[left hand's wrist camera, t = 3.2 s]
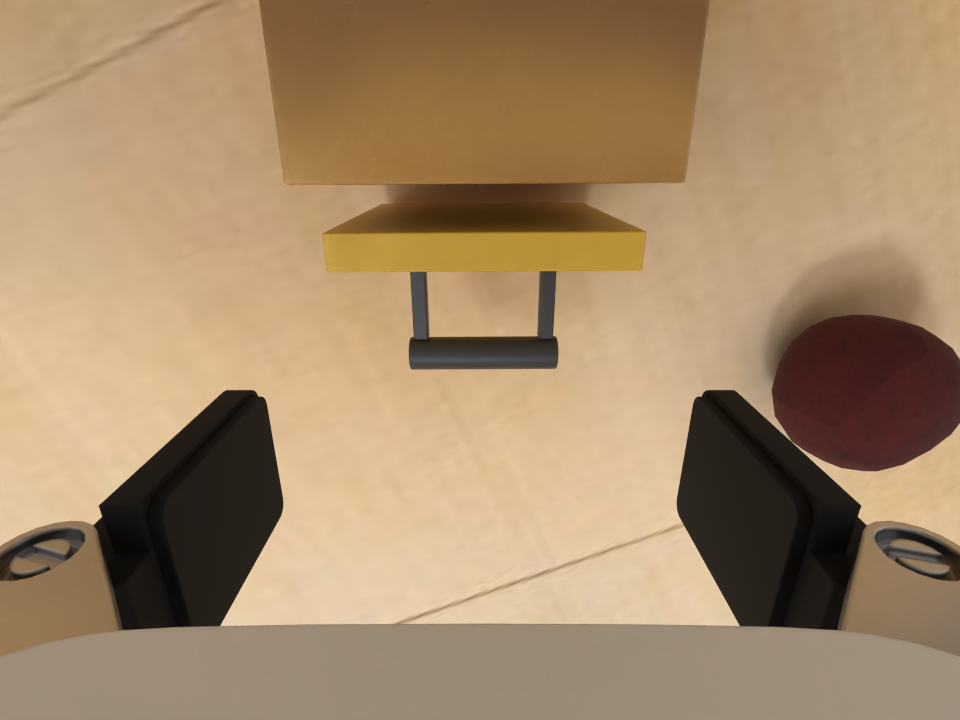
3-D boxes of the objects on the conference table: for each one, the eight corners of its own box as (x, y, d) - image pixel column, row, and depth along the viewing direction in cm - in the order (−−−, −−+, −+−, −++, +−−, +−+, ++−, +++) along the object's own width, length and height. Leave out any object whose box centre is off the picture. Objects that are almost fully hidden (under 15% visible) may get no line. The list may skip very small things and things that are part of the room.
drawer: (575, 330, 27) (625, 420, 18) (389, 331, 27) (343, 421, 18) (622, -360, 18) (777, -918, 8) (338, -359, 18) (187, -915, 8)
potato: (914, 352, 28) (1047, 411, 21) (800, 447, 30) (889, 527, 24) (831, 268, 26) (949, 305, 20) (717, 376, 29) (788, 441, 22)
